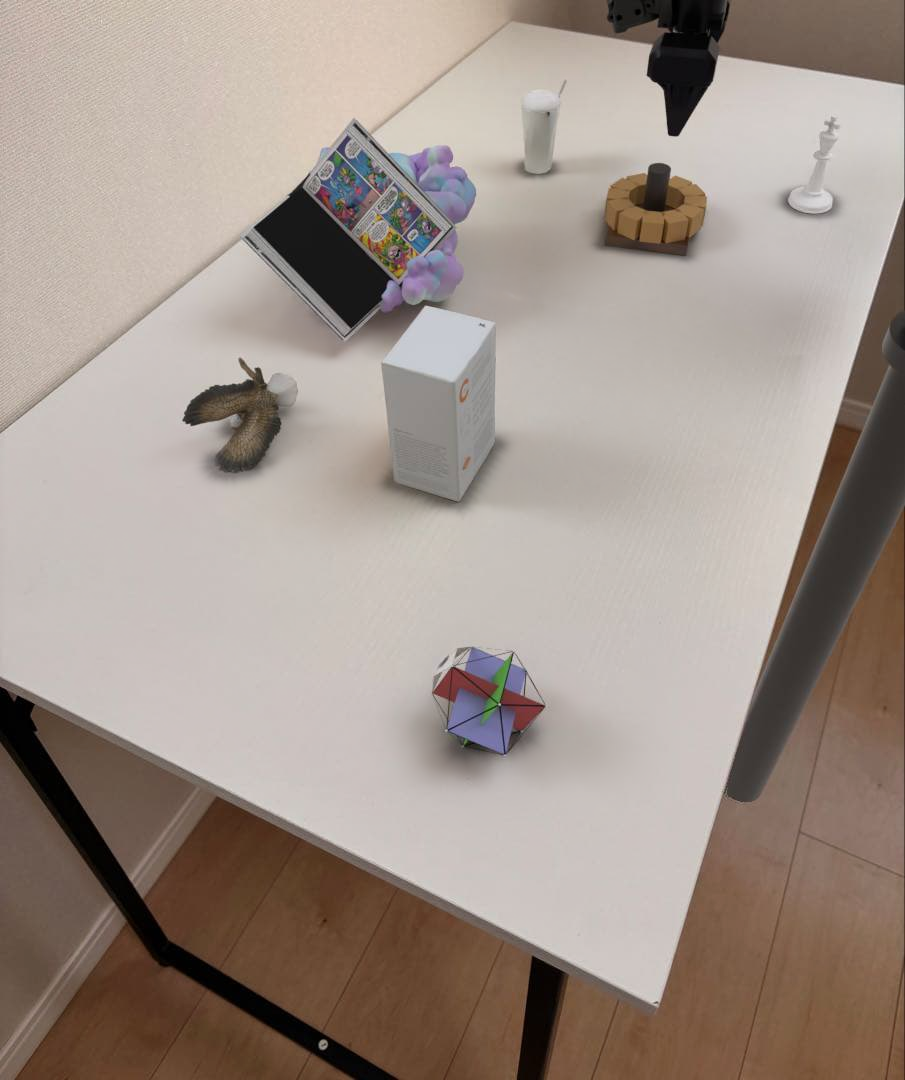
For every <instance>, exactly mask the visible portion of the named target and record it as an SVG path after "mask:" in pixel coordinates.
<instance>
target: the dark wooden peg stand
mask: <svg viewBox="0 0 905 1080" xmlns="http://www.w3.org/2000/svg"><path fill="white" fill-rule="evenodd" d="M671 173H672V167H671V166H670V165H668V164H667V163H663V162H654V163H650V164H649V165H648V167H647V174H646V175H647V181H646V188H645V195H644V202H643V204H638V205H635V206H637V207H639V208H642V209H644V210H647V211H655V212H665V211H670V210H675V208H672V207H670V206H667V205H665V204H666V198H667V191H668V185H669V179H671ZM607 225H608V224H607ZM639 240H640V237H638V238H637V239H635V240H632V239H630V238H627V237H625V236H623V235H620V234H618V233H617V230H615V231H613V229H612V228H611V227H610V226H609V225H608V226H607V229H606V232H605V235H604V242H603V244H604V246H608V247H609V246H610V247H616V248H624V249H632V250H640V251H648V252H655V253H661V254H662V253H664V254H671V255H677V256H679V255H680V256H687V254H688V250H689V246H690V240H691V237H690V238H688V237H685V240H681V241H676V242H671V243H665V242H664V241H663V239H662V238H661V243H660V244H659V243H649V242H640V241H639Z"/></svg>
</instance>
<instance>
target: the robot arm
mask: <svg viewBox="0 0 905 1080" xmlns="http://www.w3.org/2000/svg"><path fill="white" fill-rule="evenodd" d="M606 5H607V9H608V12H607V16H606V19H607V20H606V21H608V23H610V24H611V27H612V31H613V33H614V34H622V33H626V32H627V31H628V30H629V29H632V28H634V27H638V26H642V25H644V24H649V23H652V22H654V21H656V20H657V26H656V27H657V28H658V29H667V30H668V31H669V32H667V31H665V32H663V33H662V34H661V35H660V36H659V37H657V38H656V40H654V41H653V43H652V46H651V49H650V52H649V55H648V61H647V67H646V68H647V70H646V77H647V78H649V79H650V80H651V82H653V83H655V84H657V85H658V86H659V87H660V88H661V89H662V91H663V98H664V108H665V118H666V119H665V120H666V129H667V130H666V131H667V135H668V136H669V137H675V138H677V137H679V136H680V134H681V133H682V131H683V130H684V128H685V126H686V125H687V123H688V122H689V120H690V118H691V116H692V115H693V113H694V111H695V110H696V108H697V107H698V105H699V104H700V102H701V100H702V99H703V97H704V95H705V93H706V92H707V90H708V89H709V87H710V86H711V85H712V83H713V82H714V79H715V74H716V71H717V65H718V61H719V55H720V49H721V47H720V45H719V42H720V40H721V38H722V36H723V34H724V33H725V29H726V25H727V22H728V19H729V14H730V9H731V5H732V0H606Z"/></svg>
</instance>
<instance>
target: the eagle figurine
mask: <svg viewBox="0 0 905 1080" xmlns="http://www.w3.org/2000/svg"><path fill="white" fill-rule="evenodd" d="M238 364H239V366H240V368H241V369H242V370H244V371H245V373H246V375H247V376H248V377H249V378H251V379H249V378H247V379H245V380H244V381H243V382H241V383H230V384H223V385H219V384H214V385H213V386H212V385H211V386H209V387H208V389H207V388H206V389H204V391H201V392H200V393H199V394H198V395H196V396H195V397H194V398H192V399H191V400H190V401H189V403H188V405H186V409H185V410H184V412H183V415H184V416H183V417H182V423H184V424H185V425H189V426H190V427H194V426H199V425H202V424H206V423H213V422H219V421H221V420H222V421H223V420H225V419H228V418H229V417H231V416H233V417H232V418H231V419H230V421H229V423H230V429H233V428H235V429H236V428H237V430H236V431H235V432H234V433H233V435H232V436H231V438H230V439H229V440H228V442H227V443H226V444H224V446H223V447H221V449H219V451H218V452H217V453H216V454H215V455H214V459H215V460H216V463H215V464H216V465H218V468H219V470H220V471H224V472H225V473H228V472H239V471H240V469H241V470H242V471H245V470H247V469H248V468H249V469H250V468H253V467H254V466H256V465H257V464H258V463H259V462H261V461H262V460H263V458H264V457H265V456H266V452H268V450H269V449H270V445H271V443H273V440H274V439H275V437H276V436H278V434H280V431H281V428H282V427H281V426H282V419H281V417H279V413H278V412H277V411H279V410H280V407H286V408H289V407H293V406H294V405H295V403H296V400H297V396H298V393H299V389H298V383H297V381H296V380H295V379H294V378H293V377H292V376H290V375H288V374H286V373H282V372H277V373H274V374H272V376H271V377H270V379H269V381H268V383H267V382H266V381H265V378H264V376H263V372H262V368H261V367H259V366H257V367H254V370H253V369H252V368H251V367H250V366H248V364H247V363H246V361H245V360H244V359H243V358H242V357H238Z"/></svg>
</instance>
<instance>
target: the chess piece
mask: <svg viewBox="0 0 905 1080" xmlns="http://www.w3.org/2000/svg"><path fill="white" fill-rule="evenodd" d="M837 119H838V116H837V115H832V116H831V117H830V119H828V118H827V119H825V120H824V123H823V125H824V126H827V129H824V130H822V131H820V133H819V136H818V137H819V150H818V149H817V150H815V151H814V153H813V155H812V156H813V159H815V160H816V163H815V164H814V165H815V166H814V168H813V170H812V174H811V175H810V177H809V179H808V182H807V184H806V185H804V186H799V187H796V188H794V189H792V191H791V192H790V194H789V196H788V198H787V203H788V204H789V206H790V207H791V208H793V209H794V210H796V211H799V212H801V213H806V214H811V215H815V214H822V213H826V212H828V211H829V210H831V209H832V207H833V201H834V197H833V196H832V194H831V193H830V192H828V191H827V190H826V189H825V188H824V187H823V184H824V178H825V177H824V176H825V169H826V165H827V162H831V161H832V160H833V159H834V154H833V153H832V152H831V150H832V149H833V147H834V145H835V143H837V141H838V139H839V136H840V135H839V134H838V133H837V132H836V131H835V130H839V129H841V123H839V122H837Z"/></svg>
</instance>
